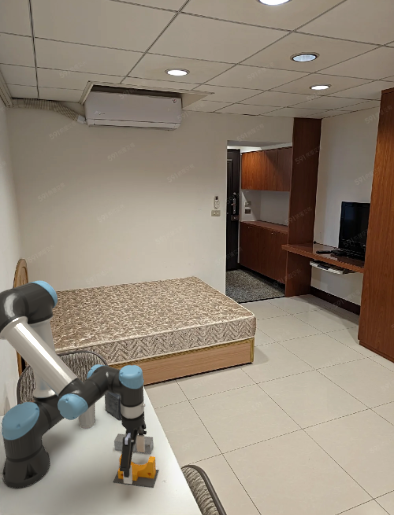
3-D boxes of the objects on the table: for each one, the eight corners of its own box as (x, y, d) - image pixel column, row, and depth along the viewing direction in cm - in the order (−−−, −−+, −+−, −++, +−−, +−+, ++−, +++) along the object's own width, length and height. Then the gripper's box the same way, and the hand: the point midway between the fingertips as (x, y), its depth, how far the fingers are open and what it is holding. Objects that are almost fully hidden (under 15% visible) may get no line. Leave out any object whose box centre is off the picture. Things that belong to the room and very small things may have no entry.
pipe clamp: (118, 478, 120) (117, 462, 118) (122, 468, 124) (121, 452, 122) (152, 482, 118) (151, 466, 116) (155, 472, 122) (155, 456, 120)
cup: (101, 421, 148) (99, 396, 146) (86, 432, 142) (84, 406, 139) (88, 415, 153) (86, 390, 150) (73, 425, 146) (70, 400, 143)
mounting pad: (113, 482, 118) (113, 481, 118) (120, 466, 125) (120, 465, 125) (153, 487, 116) (153, 486, 116) (158, 470, 123) (158, 469, 123)
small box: (131, 413, 153) (130, 392, 151) (119, 421, 149) (117, 399, 146) (116, 403, 160) (115, 383, 158) (104, 410, 155) (103, 389, 153)
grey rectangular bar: (114, 450, 133) (114, 440, 132) (118, 442, 136) (118, 433, 136) (150, 454, 131) (150, 444, 130) (153, 446, 134) (153, 437, 134)
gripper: (131, 440, 103) (133, 499, 107) (154, 390, 127) (155, 440, 131) (106, 437, 104) (110, 496, 108) (134, 388, 128) (135, 438, 133)
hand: (134, 466), depth 120 cm, fingers open, 13 cm apart
